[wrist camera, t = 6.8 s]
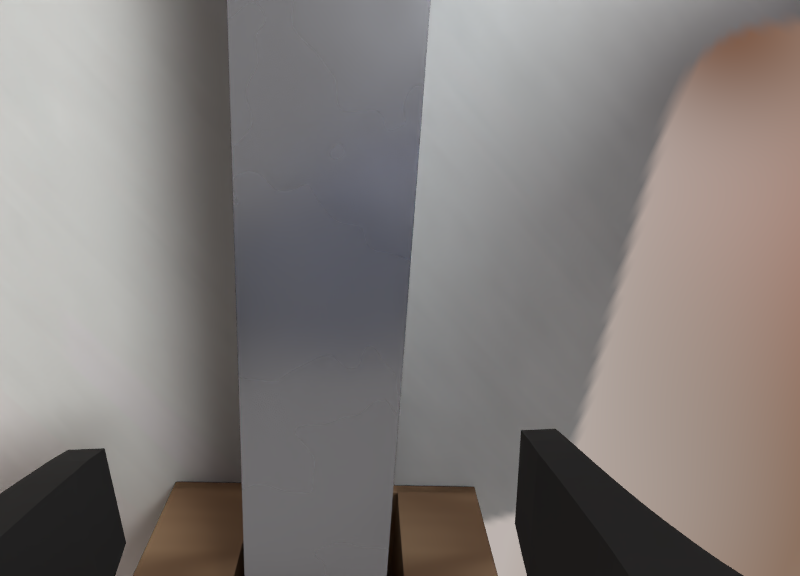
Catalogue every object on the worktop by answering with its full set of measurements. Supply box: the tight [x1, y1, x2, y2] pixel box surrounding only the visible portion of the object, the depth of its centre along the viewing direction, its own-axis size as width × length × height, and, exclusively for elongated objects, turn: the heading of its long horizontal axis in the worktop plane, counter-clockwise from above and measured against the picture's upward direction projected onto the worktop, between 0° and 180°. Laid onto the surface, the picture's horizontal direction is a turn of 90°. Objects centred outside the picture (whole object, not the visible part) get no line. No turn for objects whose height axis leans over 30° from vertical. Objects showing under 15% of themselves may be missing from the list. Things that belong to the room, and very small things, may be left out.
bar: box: [227, 0, 430, 576], centre depth 13 cm, size 3×18×5 cm, turn 176°
